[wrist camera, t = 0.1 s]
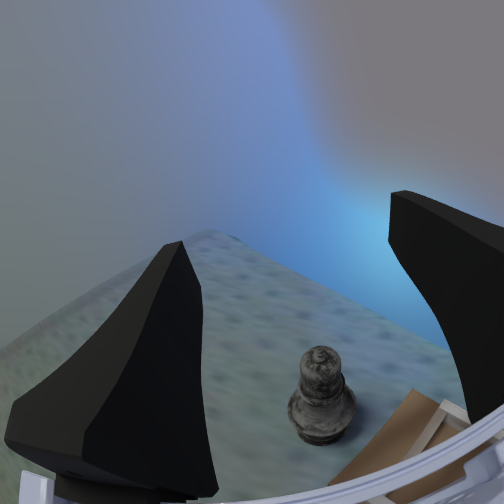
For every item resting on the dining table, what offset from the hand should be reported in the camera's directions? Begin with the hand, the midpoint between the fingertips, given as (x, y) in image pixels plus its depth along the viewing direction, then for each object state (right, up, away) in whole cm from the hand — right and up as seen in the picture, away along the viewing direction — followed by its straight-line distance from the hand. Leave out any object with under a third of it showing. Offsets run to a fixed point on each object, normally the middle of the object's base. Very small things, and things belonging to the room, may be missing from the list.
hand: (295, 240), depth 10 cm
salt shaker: (+5, -16, +14) cm, 22 cm away
